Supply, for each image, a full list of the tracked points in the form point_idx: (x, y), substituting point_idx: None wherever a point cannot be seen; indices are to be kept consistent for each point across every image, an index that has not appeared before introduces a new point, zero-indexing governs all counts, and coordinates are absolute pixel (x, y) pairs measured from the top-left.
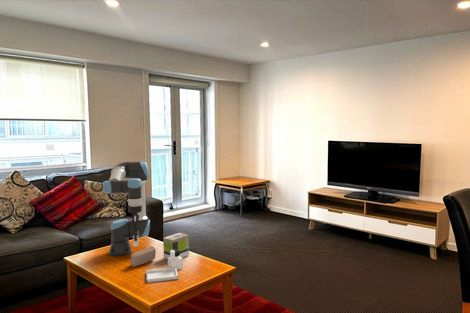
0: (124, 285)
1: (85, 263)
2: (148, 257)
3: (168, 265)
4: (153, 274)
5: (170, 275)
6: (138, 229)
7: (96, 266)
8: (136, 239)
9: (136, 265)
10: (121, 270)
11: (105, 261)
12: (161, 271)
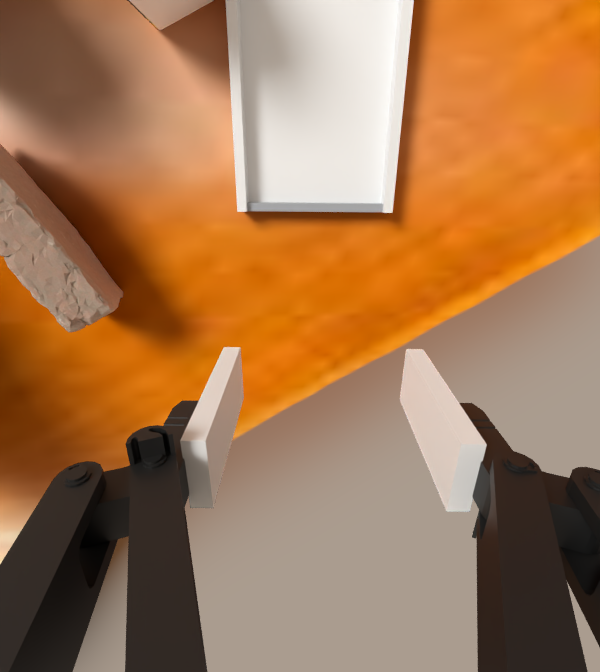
0: (377, 331)
1: None
2: (30, 191)
3: (163, 16)
4: (280, 160)
5: (334, 19)
6: (159, 448)
7: None
8: (486, 423)
9: (106, 273)
10: (167, 353)
11: (27, 434)
12: (243, 94)
